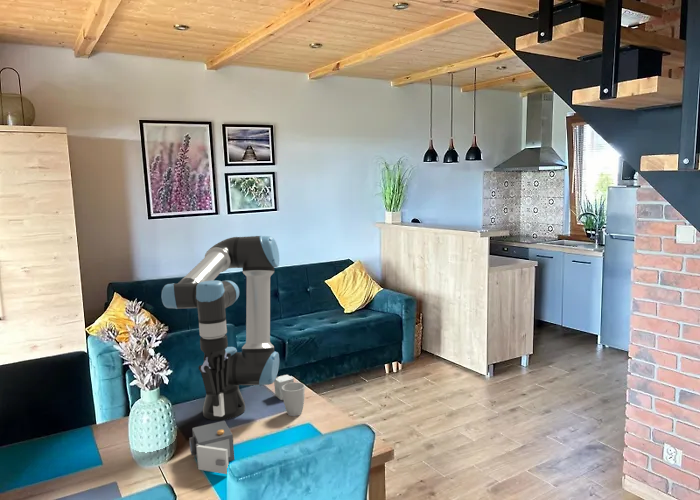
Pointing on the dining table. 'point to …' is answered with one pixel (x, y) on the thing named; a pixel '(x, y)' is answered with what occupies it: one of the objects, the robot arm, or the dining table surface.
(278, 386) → the skincare box
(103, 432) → the dining table surface
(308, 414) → the dining table surface
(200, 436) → the grey boxy piece
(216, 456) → the side door
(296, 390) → the cup
